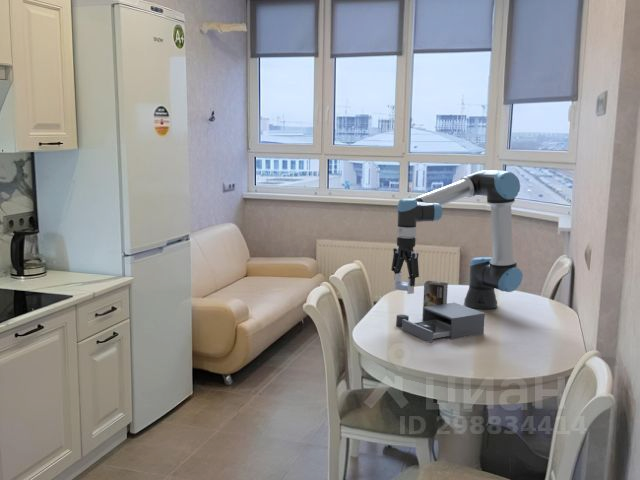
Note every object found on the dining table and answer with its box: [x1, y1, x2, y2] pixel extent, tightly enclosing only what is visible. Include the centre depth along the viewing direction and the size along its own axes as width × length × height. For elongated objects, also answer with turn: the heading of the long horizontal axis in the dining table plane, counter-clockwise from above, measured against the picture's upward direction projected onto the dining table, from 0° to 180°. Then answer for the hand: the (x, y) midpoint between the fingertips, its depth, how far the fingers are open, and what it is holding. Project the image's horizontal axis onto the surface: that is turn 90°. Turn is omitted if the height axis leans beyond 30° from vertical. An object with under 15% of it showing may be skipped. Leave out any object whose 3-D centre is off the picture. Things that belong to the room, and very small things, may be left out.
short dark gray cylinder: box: [395, 314, 410, 328], centre depth 255 cm, size 5×5×4 cm
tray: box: [401, 319, 451, 343], centre depth 245 cm, size 17×18×4 cm
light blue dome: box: [394, 281, 408, 292], centre depth 252 cm, size 8×8×2 cm
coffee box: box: [422, 280, 449, 308], centre depth 265 cm, size 9×6×16 cm
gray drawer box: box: [421, 302, 486, 340], centre depth 250 cm, size 17×18×8 cm
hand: (404, 291), depth 253 cm, fingers closed on light blue dome, 8 cm apart
